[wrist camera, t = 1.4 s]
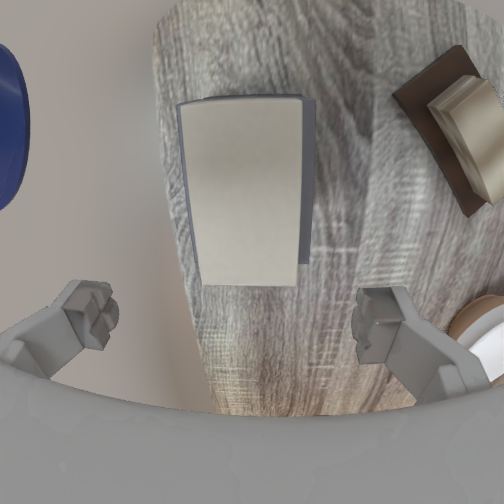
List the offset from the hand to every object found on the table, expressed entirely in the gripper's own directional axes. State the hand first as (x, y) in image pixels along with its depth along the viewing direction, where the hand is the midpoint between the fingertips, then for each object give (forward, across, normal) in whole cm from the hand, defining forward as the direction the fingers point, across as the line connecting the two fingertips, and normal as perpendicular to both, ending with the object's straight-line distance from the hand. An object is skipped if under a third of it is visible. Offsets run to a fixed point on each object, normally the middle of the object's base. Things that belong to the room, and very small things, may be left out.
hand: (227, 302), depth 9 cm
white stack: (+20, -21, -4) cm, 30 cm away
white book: (+10, 0, 0) cm, 10 cm away
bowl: (+21, -34, +23) cm, 46 cm away
